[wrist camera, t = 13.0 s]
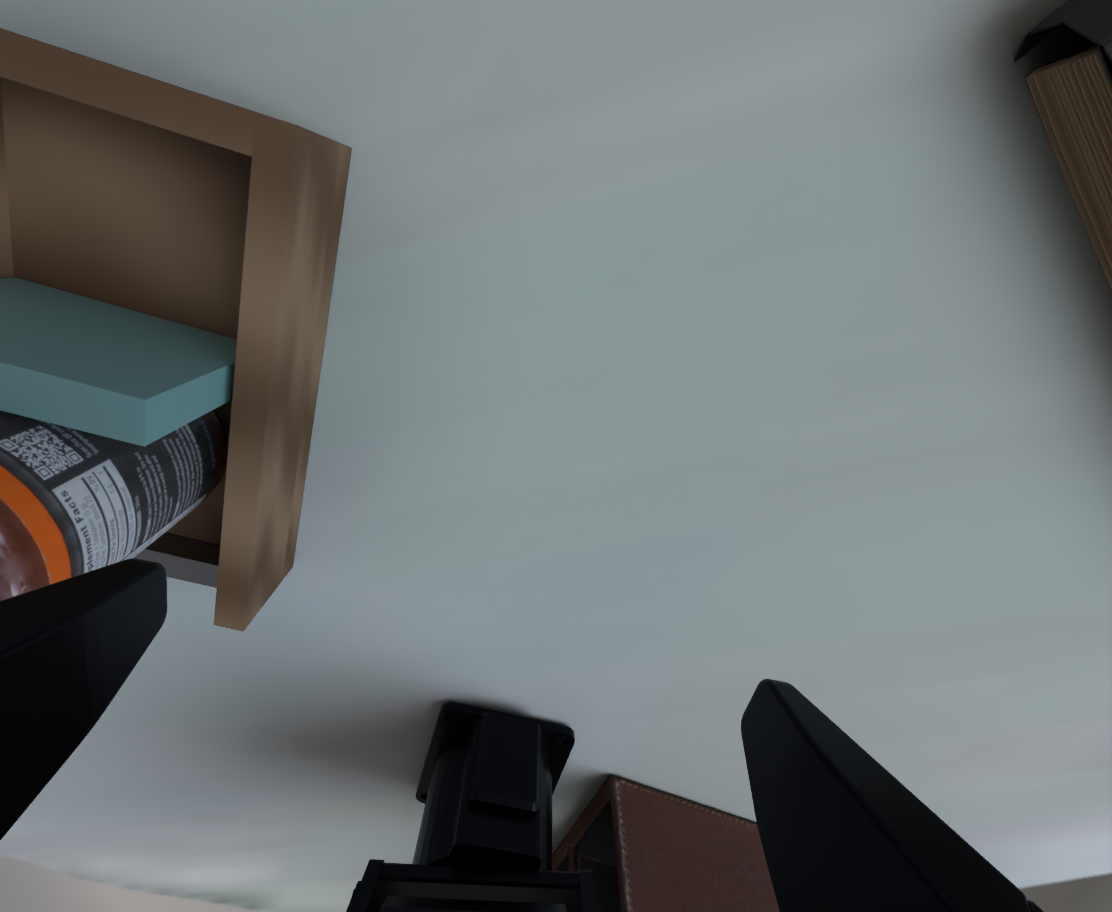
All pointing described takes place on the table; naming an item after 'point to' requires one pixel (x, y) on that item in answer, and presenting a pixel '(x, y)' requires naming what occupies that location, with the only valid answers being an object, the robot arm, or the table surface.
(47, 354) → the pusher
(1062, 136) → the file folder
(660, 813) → the letter holder
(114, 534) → the supplement bottle
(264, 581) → the brown shallow box
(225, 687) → the table surface
